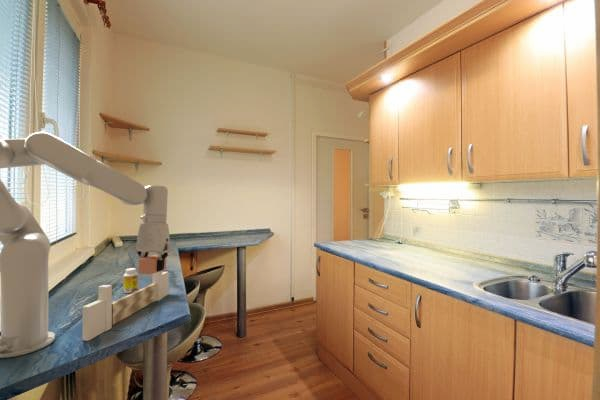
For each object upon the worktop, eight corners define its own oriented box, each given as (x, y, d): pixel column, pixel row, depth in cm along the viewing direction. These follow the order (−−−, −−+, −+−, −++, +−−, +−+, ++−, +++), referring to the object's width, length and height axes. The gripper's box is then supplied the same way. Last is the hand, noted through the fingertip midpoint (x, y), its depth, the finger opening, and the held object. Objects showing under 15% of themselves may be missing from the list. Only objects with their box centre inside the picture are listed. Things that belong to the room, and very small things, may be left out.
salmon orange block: (151, 274, 95) (152, 259, 95) (138, 273, 95) (139, 258, 95) (165, 269, 102) (166, 255, 103) (153, 268, 103) (154, 254, 103)
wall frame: (89, 340, 81) (90, 293, 81) (80, 340, 82) (81, 293, 82) (169, 294, 121) (169, 262, 121) (163, 294, 121) (163, 262, 121)
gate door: (110, 326, 90) (110, 305, 90) (106, 326, 90) (106, 305, 90) (156, 300, 113) (156, 283, 113) (153, 300, 113) (153, 283, 113)
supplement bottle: (133, 293, 122) (133, 270, 122) (120, 293, 121) (120, 270, 121) (140, 289, 127) (140, 267, 127) (127, 289, 127) (128, 267, 127)
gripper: (125, 219, 96) (123, 271, 96) (170, 221, 94) (168, 274, 94) (140, 218, 104) (138, 266, 104) (182, 220, 102) (180, 269, 102)
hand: (152, 269), depth 99 cm, fingers closed on salmon orange block, 5 cm apart
